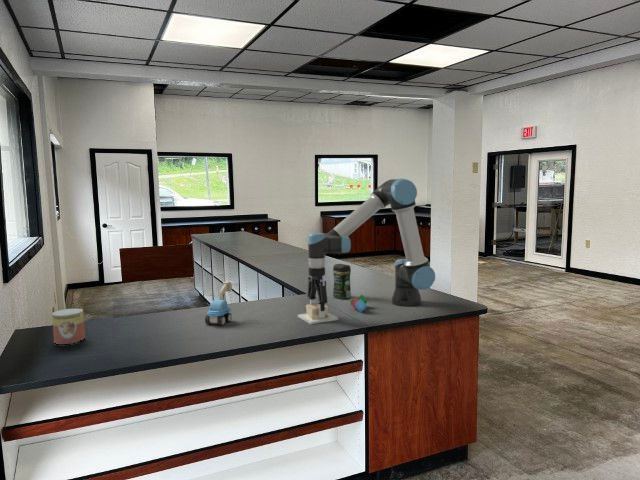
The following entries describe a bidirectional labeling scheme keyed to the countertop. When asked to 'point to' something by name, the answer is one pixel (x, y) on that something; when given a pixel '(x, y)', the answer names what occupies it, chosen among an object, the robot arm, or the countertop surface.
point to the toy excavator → (220, 308)
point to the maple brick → (315, 311)
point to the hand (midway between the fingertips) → (317, 315)
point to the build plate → (314, 321)
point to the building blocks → (359, 303)
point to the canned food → (68, 325)
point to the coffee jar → (341, 281)
